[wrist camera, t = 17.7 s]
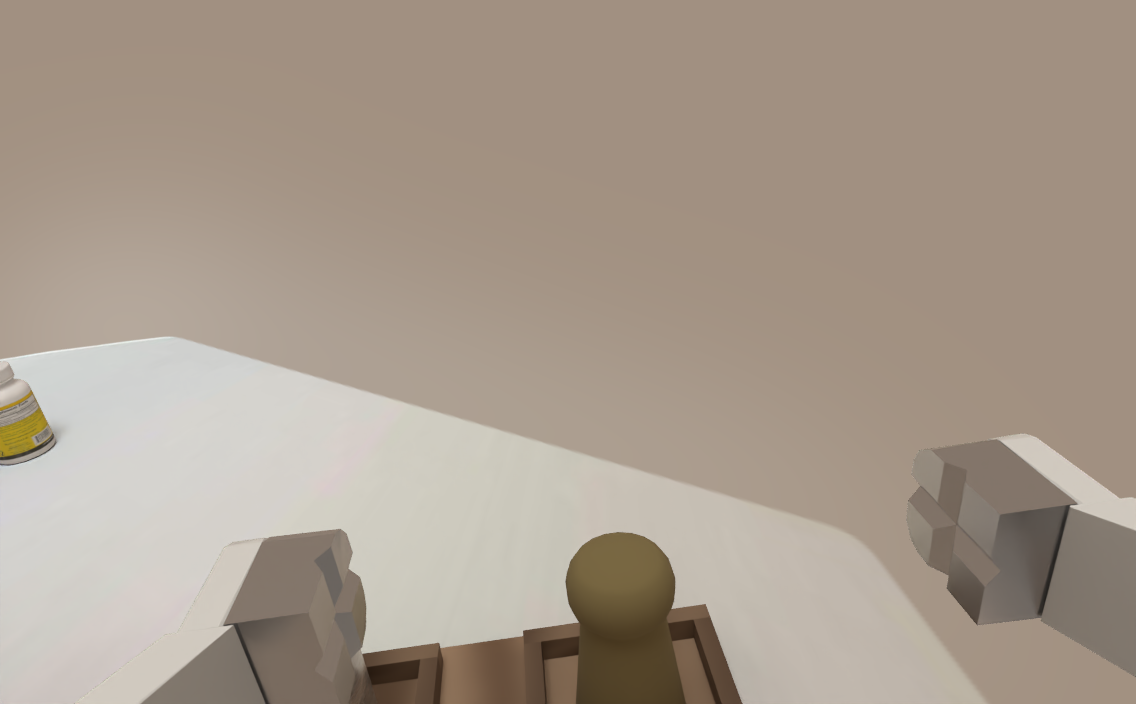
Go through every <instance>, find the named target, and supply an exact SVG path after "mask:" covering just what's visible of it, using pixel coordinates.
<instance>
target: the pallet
mask: <svg viewBox="0 0 1136 704" xmlns="http://www.w3.org/2000/svg"><path fill="white" fill-rule="evenodd" d="M667 621H668V626H669V630H670V635H671V639H672V643H673V648H674V652H675V657H676V661H677V666H678V670H679V675H680V679H681V683H682V688H683V692H684V697H685V701H686V704H742V702H741V699H740V697H739V694H738V691H737V689H736V686H735V683H734V680H733V678H732V675H731V672H730V670H729V667H728V664H727V661H726V659H725V656H724V653H723V651H722V648H721V645H720V642H719V640H718V637H717V634H716V632H715V629H714V626H713V623H712V621H711V618H710V615H709V612H708V610H707V607H706V604H704V605H697V606H690V607H683V608H676V609H671V610H670V612H669V614H668V616H667ZM579 635H580V623H573V624H566V625H559V626H552V627H545V628H538V629H531V630H525V631H523V636H522V637H515V638H508V639H501V640H494V641H487V642H480V643H473V644H467V645H460V646H453V647H446V648H440V645H439V643H435V644H428V645H421V646H414V647H407V648H400V649H393V650H387V651H380V652H373V653H366V654H362V655H363V658H364V662H365V665H366V668H367V671H368V675H369V678H370V681H371V684H372V687H373V691H374V694H375V697H376V700H377V704H576V691H577V672H578V653H579Z"/></svg>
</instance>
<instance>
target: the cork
mask: <svg viewBox="0 0 1136 704" xmlns="http://www.w3.org/2000/svg"><path fill="white" fill-rule="evenodd" d="M566 588H567V596H568V602H569V605H570V607H571V609H572V611H573V613H574V615H575V616H576V618H577V620H578V621H579V623H580V635H579V653H578V672H577V691H576V704H686V701H685V697H684V692H683V688H682V683H681V679H680V675H679V670H678V666H677V661H676V657H675V652H674V648H673V643H672V639H671V635H670V630H669V626H668V621H667V616H668V614H669V612H670V610H671V608H672V605H673V602H674V595H675V576H674V573H673V570H672V567H671V565H670V562H669V559H668V557H667V556H666V555H665V554H664V553H663V551H662V550H661V549H660V548H659V547H658V546H657V545H656V544H655V543H654V542H652V541H650V540H649V539H647V538H645V537H643V536H640V535H636V534H633V533H622V532H616V533H609V534H604V535H601V536H598V537H596V538H593V539H591V540H590V541H588V542H587V543H585V544H584V545H583V546H582V547H581V548H580V549H579V550H578V552H577V553H576V554H575V556H574V557H573V559H572V560H571V562H570V565H569V568H568V572H567V576H566Z"/></svg>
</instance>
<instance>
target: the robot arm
mask: <svg viewBox="0 0 1136 704" xmlns="http://www.w3.org/2000/svg"><path fill="white" fill-rule="evenodd" d="M912 476H913V477H914V478H915V480H916V481H917V482H918V484H919V485H920V487H919V488H918V489H917V491H916V492H915V493H914V494H913V495H912V497H911V498H910V499H909V500H908V510H907V524H908V528H909V533H910V537H911V540H912V542H913V544H914V546H915V548H916V550H917V552H918V553H919V555H920V556H921V557H922V558H923V560H924V561H925V562H926V564H927V565H928V566H930V567H932V568H934V569H936V570H939V571H941V572H943V573H945V574H947V575H948V583H947V589H948V590H949V592H950V593H951V594H952V595H953V596H954V598H955V599H956V600H957V601H958V603H959V604H960V605H961V606H962V607H963V609H964V610H965V611H966V612H967V613H968V614H969V616H970V617H971V618H972V619H973V621H974V622H975V623H976V624H977V625H984V624H992V623H1001V622H1009V621H1018V620H1026V619H1034V618H1041V621H1042V622H1043V623H1045V624H1047V625H1048V626H1050V627H1052V628H1054V629H1055V630H1057V631H1059V632H1060V633H1062V634H1064V635H1065V636H1067V637H1069V638H1070V639H1072V640H1074V641H1076V642H1077V643H1079V644H1081V645H1082V646H1084V647H1086V648H1087V649H1089V650H1091V651H1092V652H1094V653H1096V654H1098V655H1099V656H1101V657H1103V658H1104V659H1106V660H1108V661H1109V662H1111V663H1113V664H1114V665H1116V666H1118V667H1120V668H1121V669H1123V670H1125V671H1126V672H1128V673H1130V674H1131V675H1133V676H1135V677H1136V499H1135V498H1132V497H1131V498H1123V499H1120V498H1118V497H1117V496H1116V495H1114V494H1113V493H1111V492H1110V491H1109V490H1107V489H1106V488H1105V487H1103V486H1102V485H1101V484H1099V483H1098V482H1096V481H1095V480H1094V479H1092V478H1091V477H1090V476H1088V475H1087V474H1086V473H1084V472H1083V471H1081V470H1080V469H1079V468H1077V467H1076V466H1075V465H1073V464H1072V463H1070V462H1069V461H1068V460H1066V459H1065V458H1064V457H1062V456H1061V455H1060V454H1058V453H1057V452H1055V451H1054V450H1052V449H1051V448H1050V447H1049V446H1047V445H1046V444H1044V443H1043V442H1042V441H1040V440H1039V439H1038V438H1036V437H1034V436H1030V435H1027V434H1024V433H1022V434H1016V435H1010V436H1005V437H998V438H993V439H988V440H987V441H981V442H974V443H966V444H960V445H952V446H946V447H938V448H931V449H925V450H919V452H918V454H917V455H916V457H915V459H914V463H913V469H912ZM352 553H353V552H352V549H351V546H350V543H349V540H348V537H347V534H346V533H345V532H344V531H342V530H341V529H336V530H328V531H319V532H310V533H302V534H293V535H284V536H276V537H269V538H260V539H253V540H245V541H238V542H232V543H231V544H229V545H227V546H226V547H224V549H223V550H222V552H221V554H220V556H219V558H218V559H217V561H216V563H215V565H214V567H213V568H212V570H211V572H210V574H209V576H208V577H207V579H206V581H205V583H204V585H203V587H202V588H201V590H200V592H199V594H198V596H197V597H196V599H195V601H194V603H193V605H192V607H191V608H190V610H189V612H188V614H187V616H186V617H185V619H184V621H183V623H182V625H181V627H180V628H179V630H178V632H177V633H172V634H166V635H164V636H163V637H161V638H160V639H159V640H157V641H156V642H155V643H153V644H152V645H151V646H149V647H148V648H147V649H145V650H144V651H143V652H141V653H140V654H139V655H137V656H136V657H135V658H134V659H132V660H131V661H130V662H128V663H127V664H126V665H124V666H123V667H122V668H120V669H119V670H118V671H116V672H115V673H114V674H112V675H111V676H110V677H108V678H107V679H106V680H104V681H103V682H102V683H101V684H99V685H98V686H97V687H95V688H94V689H93V690H91V691H90V692H89V693H87V694H86V695H85V696H83V697H82V698H81V699H79V700H78V701H77V702H75V703H74V704H349V701H350V697H351V693H352V689H353V684H354V680H355V676H356V674H355V671H354V668H353V665H352V661H351V658H352V657H353V656H354V655H355V654H356V653H357V652H358V651H359V650H360V649H361V648H362V645H363V640H364V635H365V630H366V603H365V595H364V590H363V586H362V583H361V579H360V577H359V576H358V575H356V574H355V573H353V572H352V571H351V570H349V569H348V568H349V564H350V560H351V557H352Z"/></svg>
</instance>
